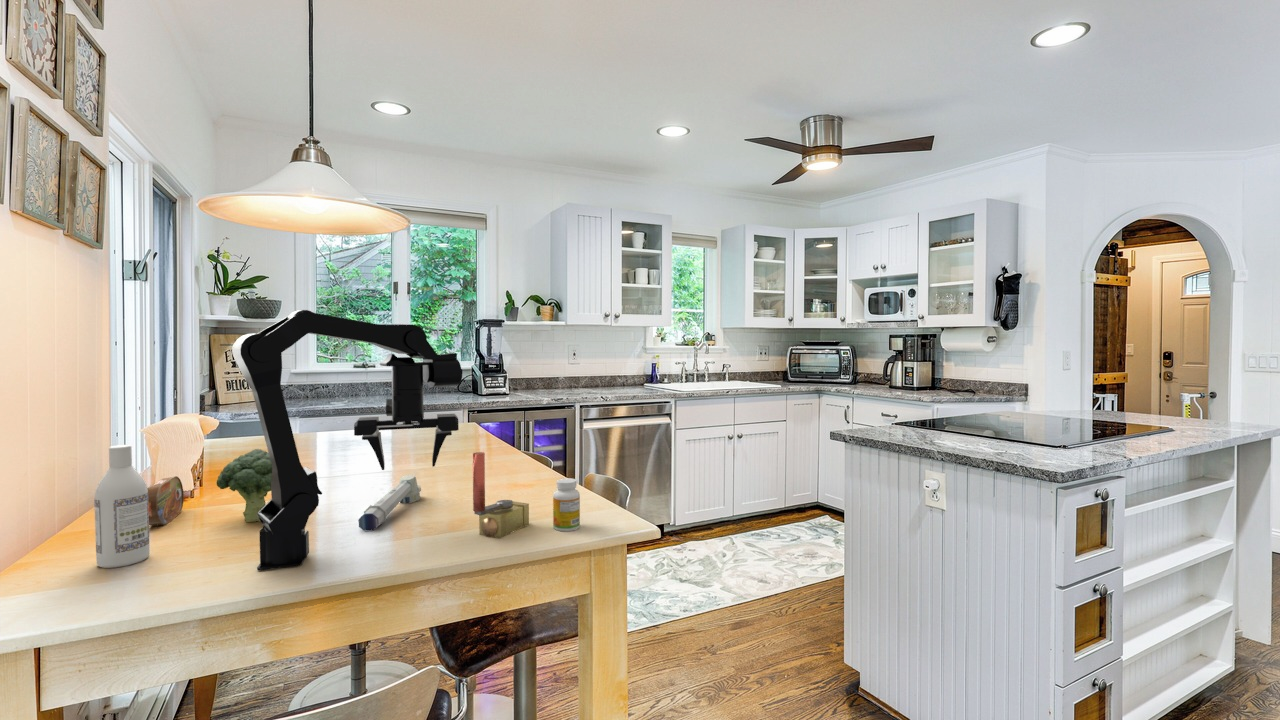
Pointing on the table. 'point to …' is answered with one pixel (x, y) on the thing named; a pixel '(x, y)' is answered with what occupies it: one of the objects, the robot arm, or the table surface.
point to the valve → (504, 520)
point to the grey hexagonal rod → (390, 502)
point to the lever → (483, 488)
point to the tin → (165, 500)
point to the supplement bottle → (566, 505)
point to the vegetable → (249, 480)
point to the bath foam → (121, 512)
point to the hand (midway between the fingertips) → (408, 467)
